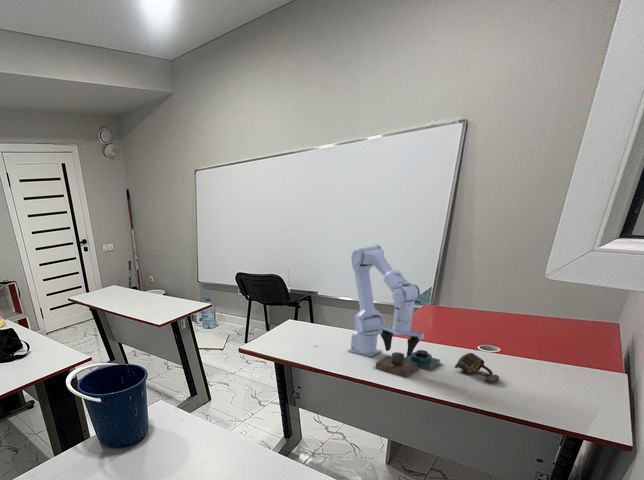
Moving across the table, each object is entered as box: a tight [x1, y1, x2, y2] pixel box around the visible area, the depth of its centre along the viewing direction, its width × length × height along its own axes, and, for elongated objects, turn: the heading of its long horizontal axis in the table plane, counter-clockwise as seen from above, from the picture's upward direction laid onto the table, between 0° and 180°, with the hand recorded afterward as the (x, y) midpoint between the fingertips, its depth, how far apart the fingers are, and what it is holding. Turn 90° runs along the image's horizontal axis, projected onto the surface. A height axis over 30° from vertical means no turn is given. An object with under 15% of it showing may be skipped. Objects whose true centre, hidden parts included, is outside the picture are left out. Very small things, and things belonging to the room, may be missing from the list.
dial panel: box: [375, 354, 419, 378], centre depth 136 cm, size 11×9×3 cm
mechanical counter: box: [454, 352, 500, 383], centre depth 125 cm, size 7×13×10 cm
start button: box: [415, 349, 429, 357], centre depth 137 cm, size 4×4×2 cm
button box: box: [404, 351, 441, 371], centre depth 138 cm, size 10×8×4 cm
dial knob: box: [391, 351, 405, 365], centre depth 135 cm, size 4×4×4 cm
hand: (398, 352), depth 134 cm, fingers open, 7 cm apart
